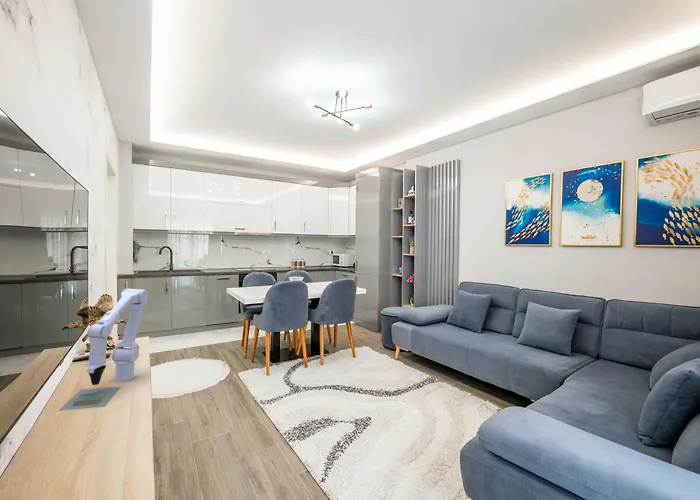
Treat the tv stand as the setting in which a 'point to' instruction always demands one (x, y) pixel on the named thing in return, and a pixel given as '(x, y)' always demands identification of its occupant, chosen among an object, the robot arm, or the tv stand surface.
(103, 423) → the tv stand surface
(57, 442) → the tv stand surface
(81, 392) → the mat
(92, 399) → the tile
